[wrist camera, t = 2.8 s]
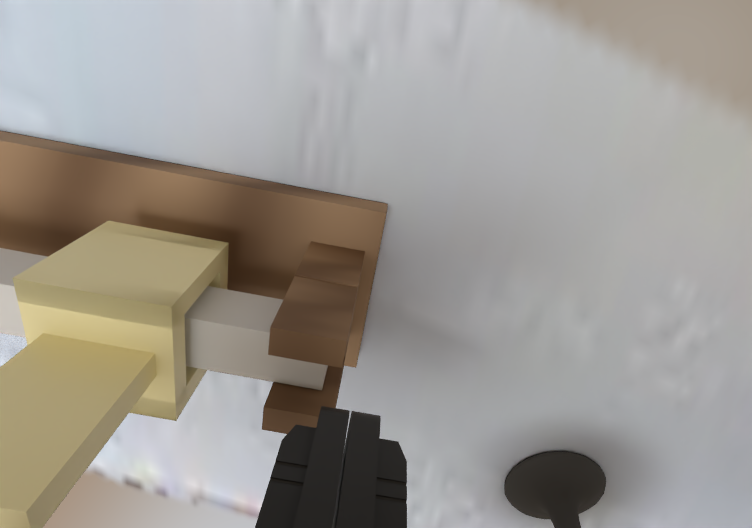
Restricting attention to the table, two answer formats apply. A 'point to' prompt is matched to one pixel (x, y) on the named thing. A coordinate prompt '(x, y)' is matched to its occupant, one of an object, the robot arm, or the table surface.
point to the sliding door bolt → (199, 330)
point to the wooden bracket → (221, 223)
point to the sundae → (555, 487)
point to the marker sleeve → (96, 355)
